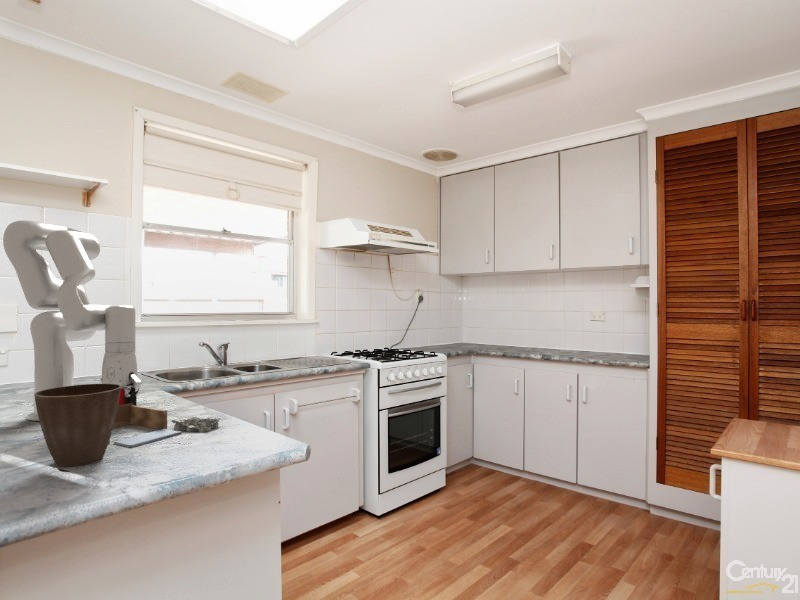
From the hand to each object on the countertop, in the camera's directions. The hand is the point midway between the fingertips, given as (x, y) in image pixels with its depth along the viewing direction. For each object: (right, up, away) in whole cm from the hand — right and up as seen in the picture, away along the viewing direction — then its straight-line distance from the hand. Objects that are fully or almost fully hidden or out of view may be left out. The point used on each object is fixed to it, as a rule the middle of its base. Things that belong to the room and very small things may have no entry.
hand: (120, 408), depth 135 cm
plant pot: (+13, -4, -37) cm, 40 cm away
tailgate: (+17, -2, -20) cm, 26 cm away
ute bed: (+9, -4, -16) cm, 19 cm away
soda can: (0, -4, 0) cm, 4 cm away
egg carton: (+27, -4, -11) cm, 29 cm away
